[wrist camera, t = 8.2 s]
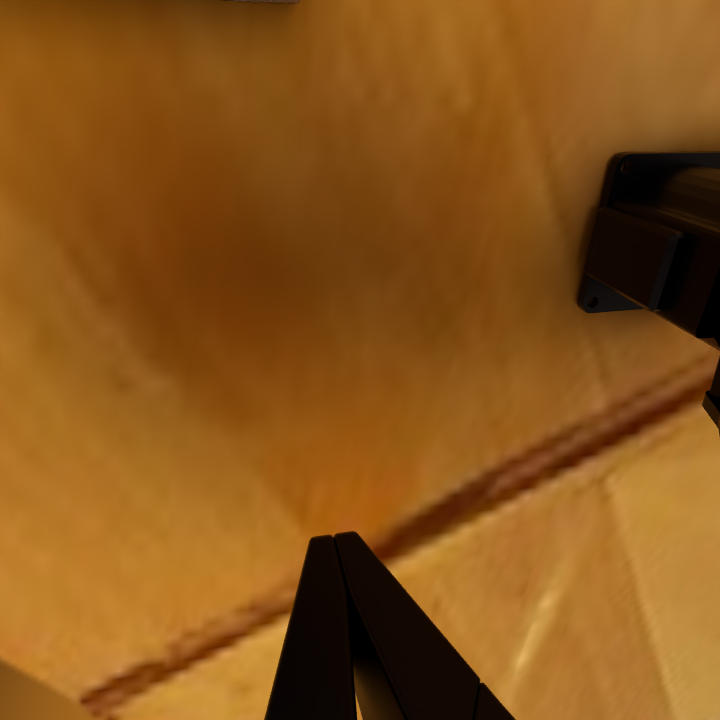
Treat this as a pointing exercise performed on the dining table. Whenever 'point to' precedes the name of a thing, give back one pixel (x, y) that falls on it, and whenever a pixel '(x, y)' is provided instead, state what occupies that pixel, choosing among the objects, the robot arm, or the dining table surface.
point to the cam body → (279, 0)
